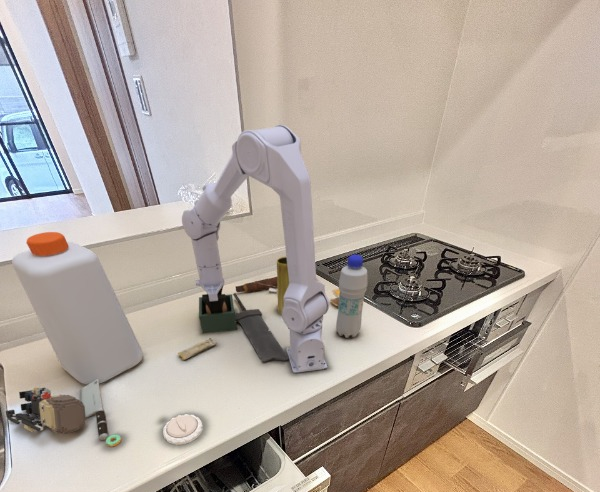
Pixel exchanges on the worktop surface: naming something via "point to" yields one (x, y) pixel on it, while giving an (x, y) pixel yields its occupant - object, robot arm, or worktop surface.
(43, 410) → the toy
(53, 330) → the plastic bottle
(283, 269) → the vase
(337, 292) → the shell
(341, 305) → the bottle
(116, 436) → the donut
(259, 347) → the flat dark sword
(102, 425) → the cleaver
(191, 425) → the white round disc
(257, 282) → the hand tool
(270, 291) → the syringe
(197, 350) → the snack bar
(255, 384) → the worktop surface
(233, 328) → the tote
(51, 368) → the worktop surface
